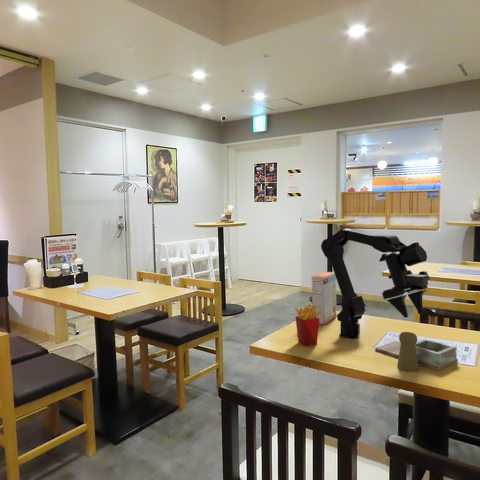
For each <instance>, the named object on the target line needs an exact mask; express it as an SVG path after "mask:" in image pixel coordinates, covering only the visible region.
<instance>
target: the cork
mask: <svg viewBox="0 0 480 480" xmlns="http://www.w3.org/2000/svg"><path fill="white" fill-rule="evenodd" d="M398 341H399V342H401V346H400V352H399V358H397V364H396V365H397V369H399V370H401V371H403V372H409V373H410V372H418V371H419V365H418V363H417V355H416V347H415V344H416V343H417V341H418V336H417V334H415V333H414V332H411V331H403V332H401V333H400V334H399V336H398Z"/></svg>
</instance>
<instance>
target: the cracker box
mask: <svg viewBox="0 0 480 480" xmlns="http://www.w3.org/2000/svg"><path fill="white" fill-rule="evenodd" d="M311 296H312V299H311V302H312V303H311V305H313V306H314V305H315V306H316V308H315V312H316V313H317V312H319V311H322V313H321V314H319V315H318V316H316V317H317V318H319V325H322V326H325V325H326V324H329V323H330V322H331V321H333V320H334V319H337V279H336V276H335V273H334V271H333V272H332V271H323V272H320V273H318V274H315V275H313V276H311Z"/></svg>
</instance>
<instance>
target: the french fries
mask: <svg viewBox="0 0 480 480" xmlns="http://www.w3.org/2000/svg"><path fill="white" fill-rule="evenodd" d="M315 308H316V306H315V305H314V306H313V305H312V304H311V303H308V305H305V306H304V308H302V307H300V308H298V307H295V308H294V310H295V311H296V314H297V316H295V325H296V333H297V340H298V344H299V345H302V346H303V347H311V346H317V345H318V338H319V337H318V335H319V329H320V328H319V326H320V324H319V318H317V317H316V316H318V315H319V314H321V313H322V311H319V312H317V313H316V312H315Z"/></svg>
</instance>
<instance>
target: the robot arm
mask: <svg viewBox="0 0 480 480" xmlns="http://www.w3.org/2000/svg"><path fill="white" fill-rule="evenodd" d="M349 241H351V242H354V243H355V242H356V243H359V244H363V245H367V246H370V247H372V249H374V250H377V251H378V252H381V253H382V254H381V256H380V258H379V259H378V261H379V262H385V263H386V266H387V269H388V272H389V275H388V276H387V277H388V279H389V280H390V279H391V280H392V283H393V286H392V288H389V289H386V290H383V291H382V292H381V295H382V298H383V300H386V302H388V303H390V304H391V305H392V306H393V307H394V308H395V309H396V310H397V311H398V312H399V313H400V314H401V315H402V316H403V317H404V318H408V317H409V313H408V310H407V307H406V297H408V298H409V300H410V301H411V303H412V304H413V305H414V307H415V309H416V310H417V312H418V313H419V314H420V313H421V314H422V313H423V307H424V306H423V295H424V294H425V293H426V291H427V289H428V285H429V280H431V277H430V276H429V274H428V271H425V270H421V271H419V272H418V273H416V274H415V273H413V272H412V271H411V269H407V267H412V266H415V265H418V264H421V263H422V264H423V263H425V262H426V261H427V259H428V255H427V252H426V250H425V249H424V247H422V246H421V245H420V243H419V241H416V242H413V243H411V244H409V245H406V244H405V243H403V242H402V241H401V240H400V239H399V237H398V236H397V235H393V234H373V233H368V232H363V231H359V230H354V229H351V228H341V229H340V230H338V231H337V232H336V233H334V234H332V235H330V236H328V237H327V238H325V239H323V241H322V242H321V244H320V247H321V250H322V253H323V255H324V257H326V259H327V260H328V261H329V262H330V263H331V267H332V270H333V272H334V273H335V276H336V283H337V285H338V287H339V290H340V294H341V297H342V298H341V303H340V304H341V310H340V312H338V313H336V319H337V321H339V322H340V333H339V335H338V337H342V338H347V339H348V338H350V339H357V338H358V336H360V334H361V324H360V323H359V320H361V319H362V317H363V316H364V315H365V312H366V303H365V301H364V299H363V296H362V295H359V296H358V294H357V293H356V292H355V289H354V287H353V284H352V281H351V278H350V275H349V272H348V269H347V266H346V264H345V261H344V252H345V250H344V249H345V247H344V246H346V245H347V243H348V242H349ZM398 252H399V253H398ZM387 253H389V254H387ZM405 293H407V294H405Z"/></svg>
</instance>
